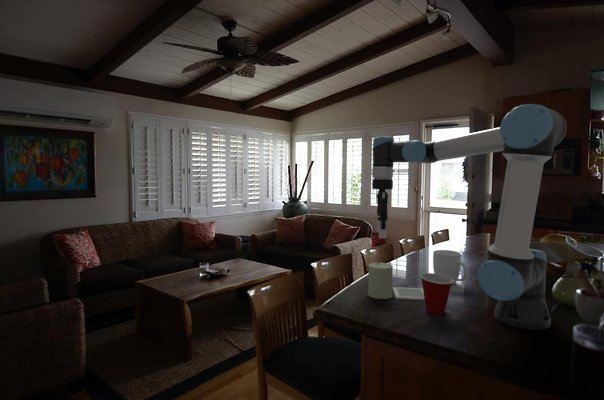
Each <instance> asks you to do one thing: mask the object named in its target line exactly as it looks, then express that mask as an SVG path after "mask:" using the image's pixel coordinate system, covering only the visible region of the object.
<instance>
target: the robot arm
mask: <svg viewBox="0 0 604 400" xmlns="http://www.w3.org/2000/svg"><path fill="white" fill-rule="evenodd" d="M567 128H568V127H567V121H566V118H564V116H563V115H562V114H561V113H560V112H558V111H556V110H554V109H552V108H548V107H546V106H544V105H543V104H534V103H525V104H521V105H518V106H516V107H514V108H512V109H511V110H510V111H508V112H507V113H506V115H504V117H503V118H502V120H501V123H500V127H495V128H490V129H485V130H481V131H477V132H471V133H466V134H460V135H457V136H456V135H455V136H452V137H446V138H441V139H436V140H432V141H427V142H425V141H422V140H420V139H418V140H417V139H409V140H402V141H401V140H400V141H395V138H394V137H393V136H376V137H375V138H373V144H372V170H371V171H372V172H371V173H372V175H371V177H372V178H373V179H372V183H371V187H372V189H373V190H377V193H376V204H377V207H376V215H377V216H376V233H378V239H387V237H388V236H387V235H388V234H387V233H388V232H387V231H388V217H389V216H388V204H389V203H388V202H389V201H388V199H389V193H388V192H387V190H392V189H393V188H394V179H392V178H393V177H394V173H395V172H396V170H395V169H394V163H411V164H412V163H417V164H418V163H423V164H435V163H436V162H440V161H446V160H453V159H458V158H465V157H471V156H480V155H484V154H492V153H497V152H502V156H503V157H504V158H505V159H506V160H507V162H506V168H505V176H504V181H503V188H502V194H501V201H500V206H499V213H498V219H497V225H496V232H495V239H494V243H493V244H491V245H489V246H488V247H487V250H486V251H487V252H486V258H485V262H483V263H482V264H481V265H480V267H479V268H478V271H477V280H478V284H479V286H480V288H481V289H482V290H483V292H485V294H486V295H488V296H489V297H490V298H493V299H495V300H497V303H496V306H495V307H494V318H495V319H496V320H497V321H499V322H500V323H503V324H505V325H508V326H510V327H514V328H518V329H522V330H531V331H533V330H534V331H539V330H540V331H541V330H547V329H549V328H550V327H551V320H552V319H551V315H550V313H549V312H550V311H549V309H548V306H547V303H546V297H545V296H546V295H545V293H546V278H547V277H546V275H547V264H548V260H547V253H546V252H545V251H543V250H539V249H535V248H534V249H533V248H530V246H531V245H530V244H531V239H532V234H533V233H532V232H533V228H534V221H535V217H536V210H537V205H538V204H537V203H538V199H539V193H540V188H541V182H542V174H543V170H544V166H545V165H544V164H545V163H546V162H548V161H550V160H551V158H552V157H553V153H554V152H553V151H554V148H555V147H556V146H557V145H559V144H560V143H561V142H562V141H563V140H564V137H565V136H566V133H567Z"/></svg>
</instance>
